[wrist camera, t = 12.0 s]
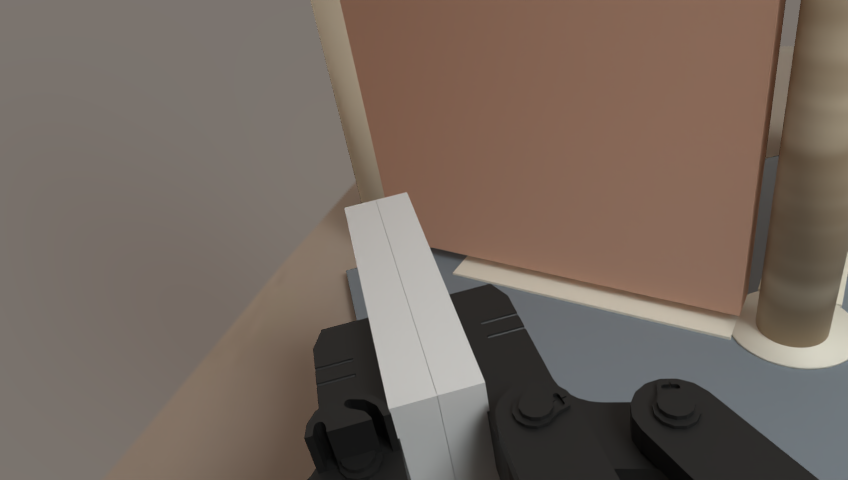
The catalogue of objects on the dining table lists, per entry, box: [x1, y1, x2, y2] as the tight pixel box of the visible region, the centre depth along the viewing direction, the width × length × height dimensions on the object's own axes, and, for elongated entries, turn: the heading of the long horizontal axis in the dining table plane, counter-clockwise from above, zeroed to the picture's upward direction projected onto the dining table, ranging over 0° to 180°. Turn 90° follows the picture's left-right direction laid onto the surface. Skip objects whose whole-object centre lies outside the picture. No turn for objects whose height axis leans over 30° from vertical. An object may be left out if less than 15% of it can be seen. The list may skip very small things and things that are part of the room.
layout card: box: [346, 155, 848, 480], centre depth 19 cm, size 23×22×1 cm
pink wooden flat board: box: [311, 0, 786, 316], centre depth 21 cm, size 15×2×13 cm, turn 57°
